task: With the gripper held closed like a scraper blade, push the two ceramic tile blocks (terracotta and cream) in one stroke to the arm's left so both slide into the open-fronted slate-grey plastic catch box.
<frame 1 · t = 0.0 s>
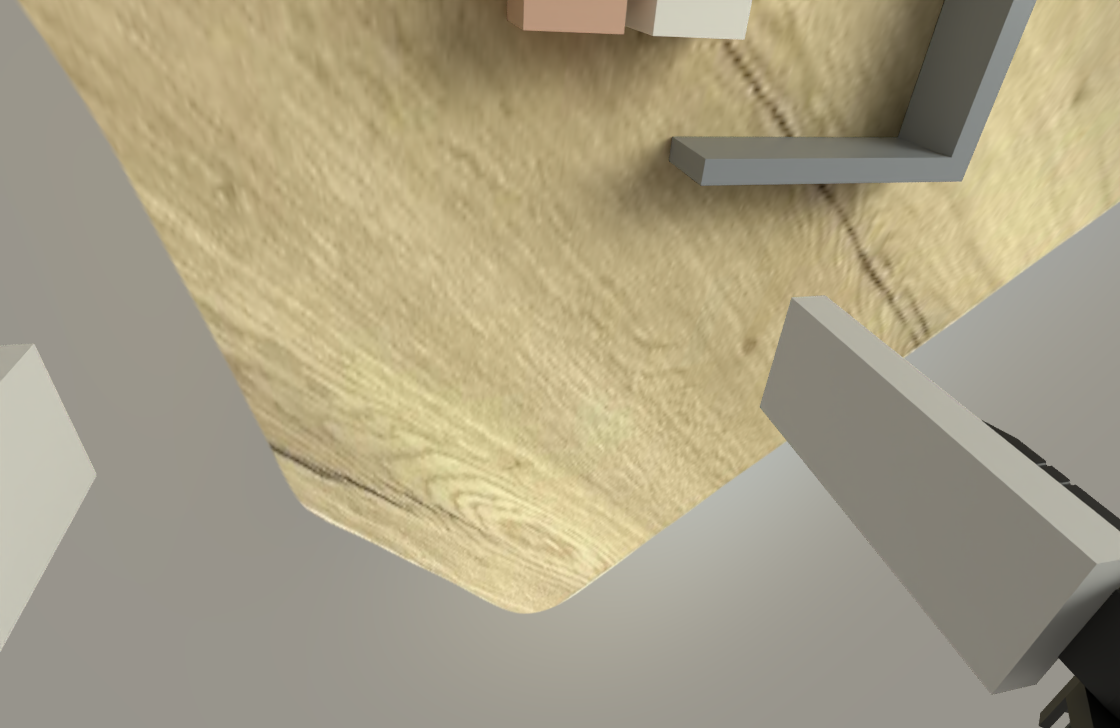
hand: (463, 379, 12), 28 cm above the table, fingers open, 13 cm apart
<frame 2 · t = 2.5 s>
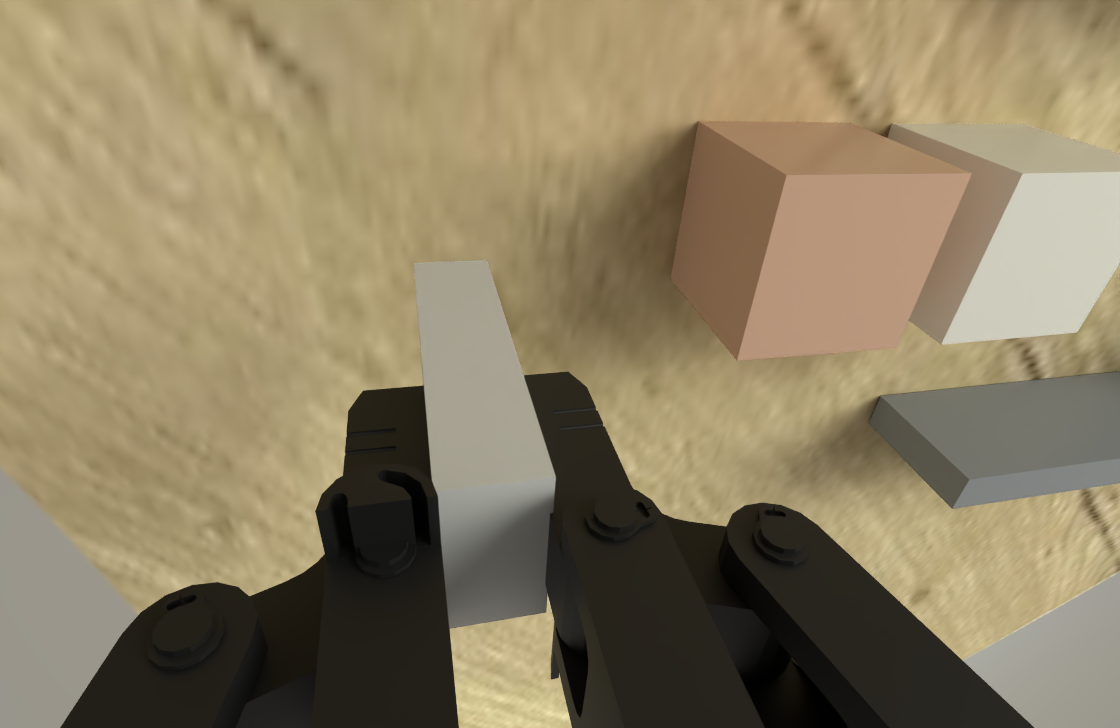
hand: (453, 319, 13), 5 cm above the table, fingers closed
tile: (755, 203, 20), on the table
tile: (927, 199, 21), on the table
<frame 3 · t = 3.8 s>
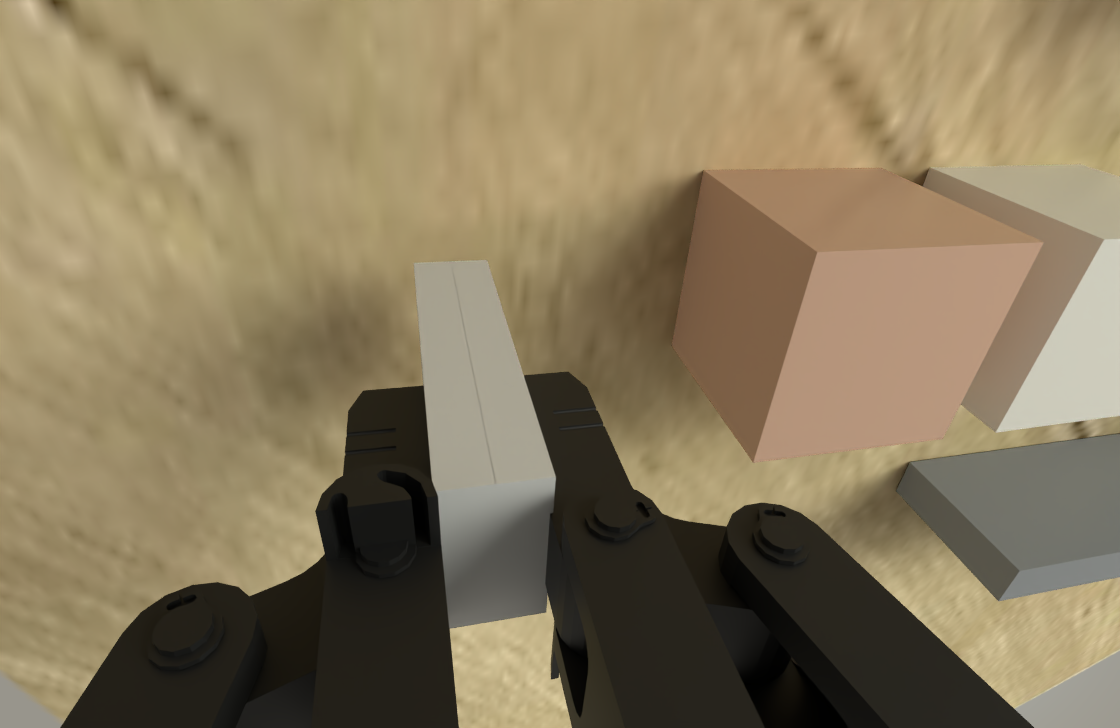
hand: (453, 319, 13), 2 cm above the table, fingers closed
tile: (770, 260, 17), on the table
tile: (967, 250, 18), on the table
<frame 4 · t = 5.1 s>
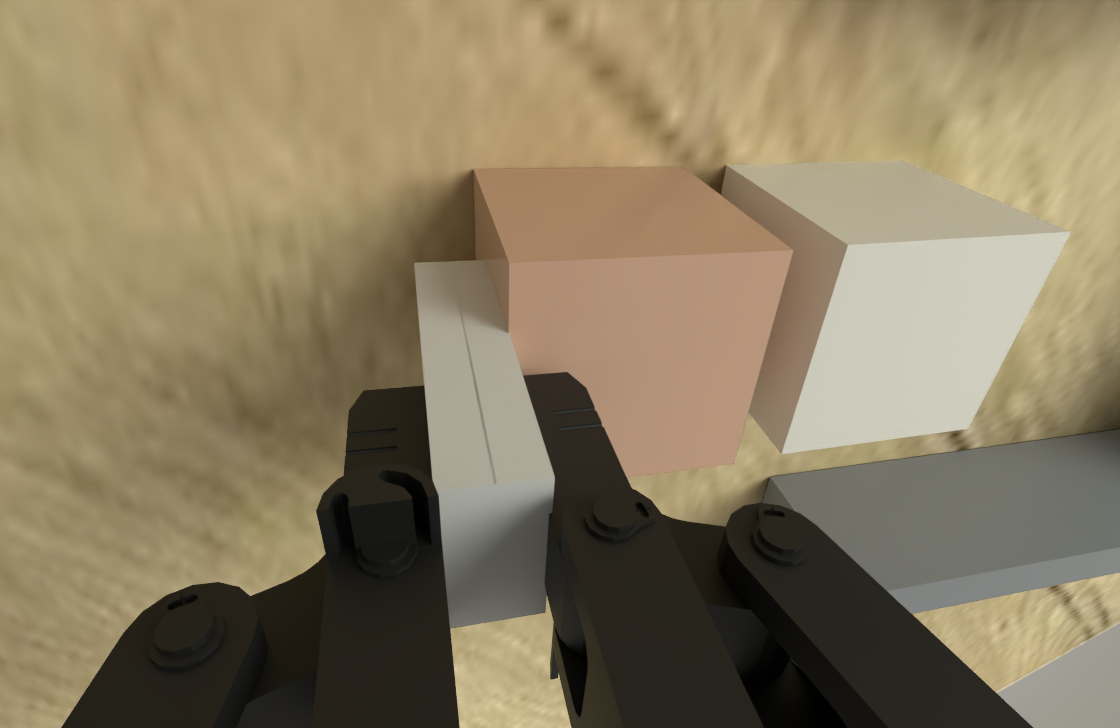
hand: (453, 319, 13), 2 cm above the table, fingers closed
catch box: (1097, 239, 19), on the table
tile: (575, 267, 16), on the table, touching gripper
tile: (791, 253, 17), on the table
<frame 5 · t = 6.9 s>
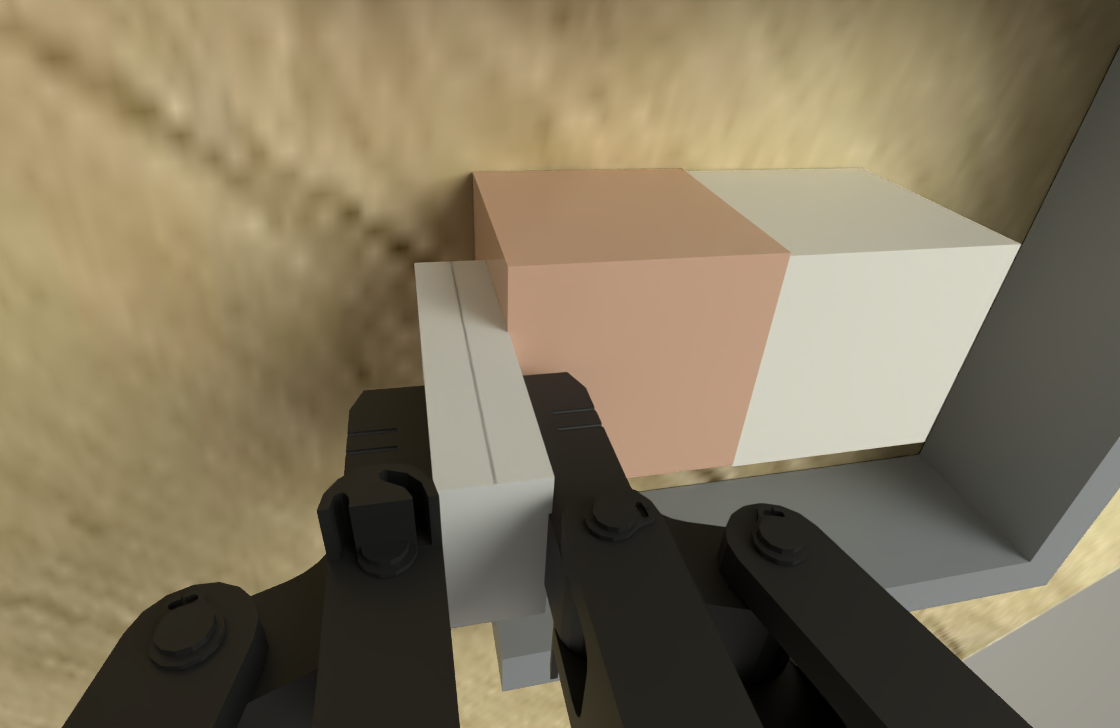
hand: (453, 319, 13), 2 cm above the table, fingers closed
catch box: (801, 252, 17), on the table
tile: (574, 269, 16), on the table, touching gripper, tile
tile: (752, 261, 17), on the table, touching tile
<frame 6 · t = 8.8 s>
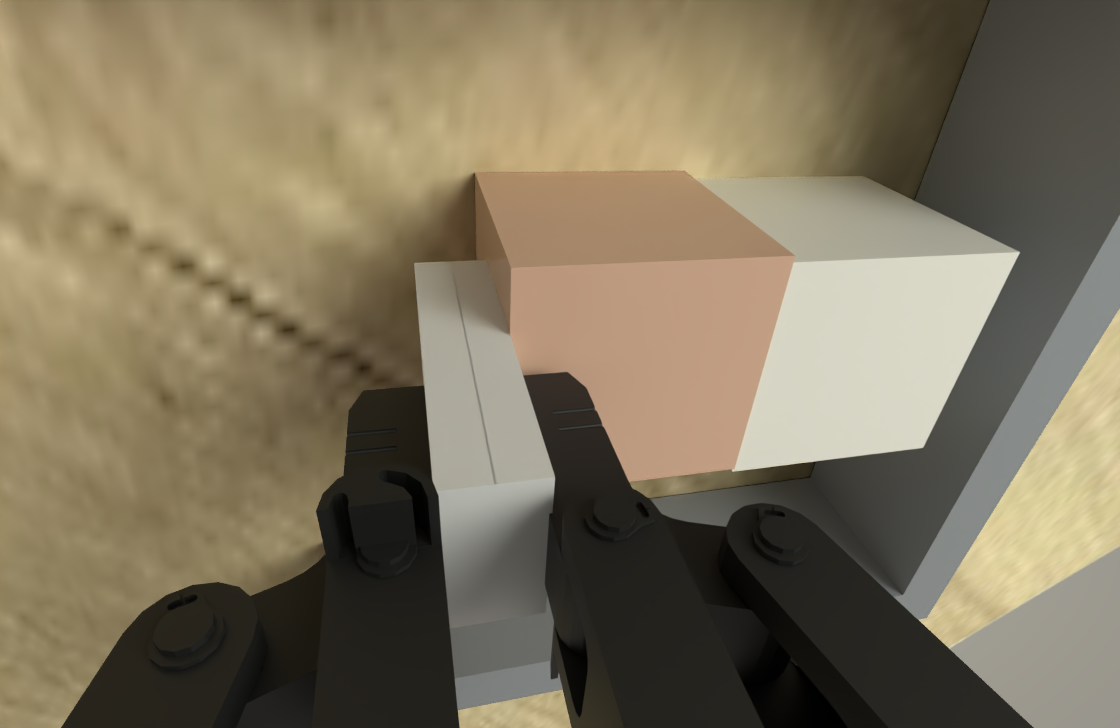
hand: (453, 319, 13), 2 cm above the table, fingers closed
catch box: (644, 270, 16), on the table
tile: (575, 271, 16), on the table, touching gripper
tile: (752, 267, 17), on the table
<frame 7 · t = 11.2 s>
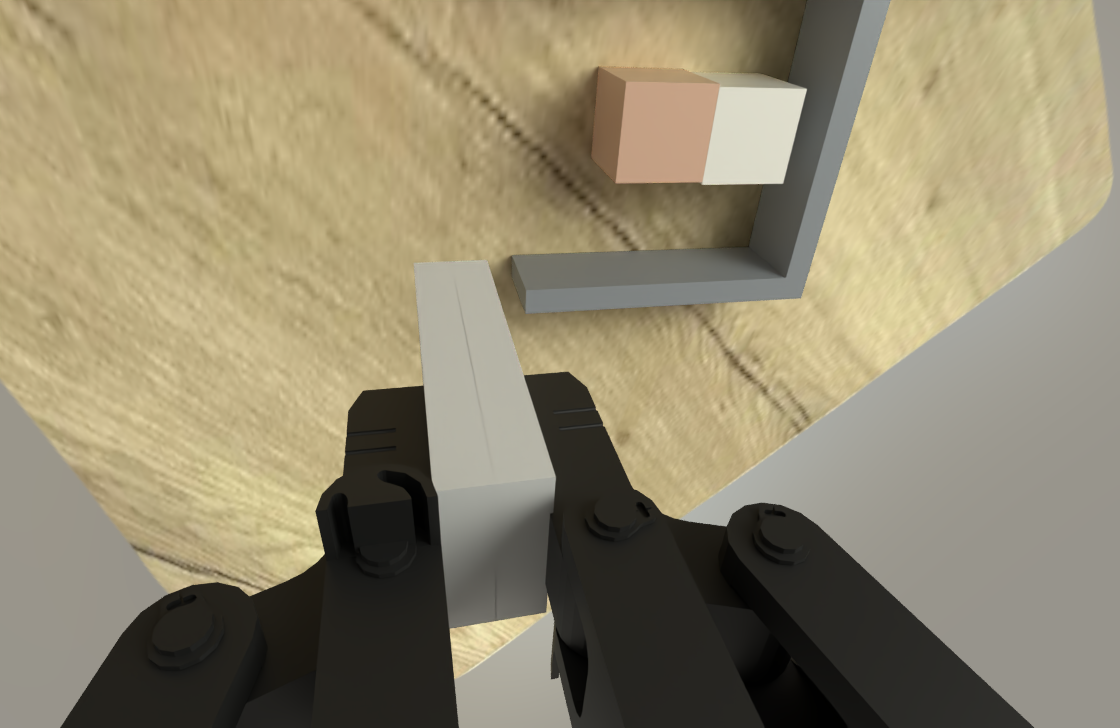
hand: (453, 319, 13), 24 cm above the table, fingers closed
catch box: (665, 115, 37), on the table
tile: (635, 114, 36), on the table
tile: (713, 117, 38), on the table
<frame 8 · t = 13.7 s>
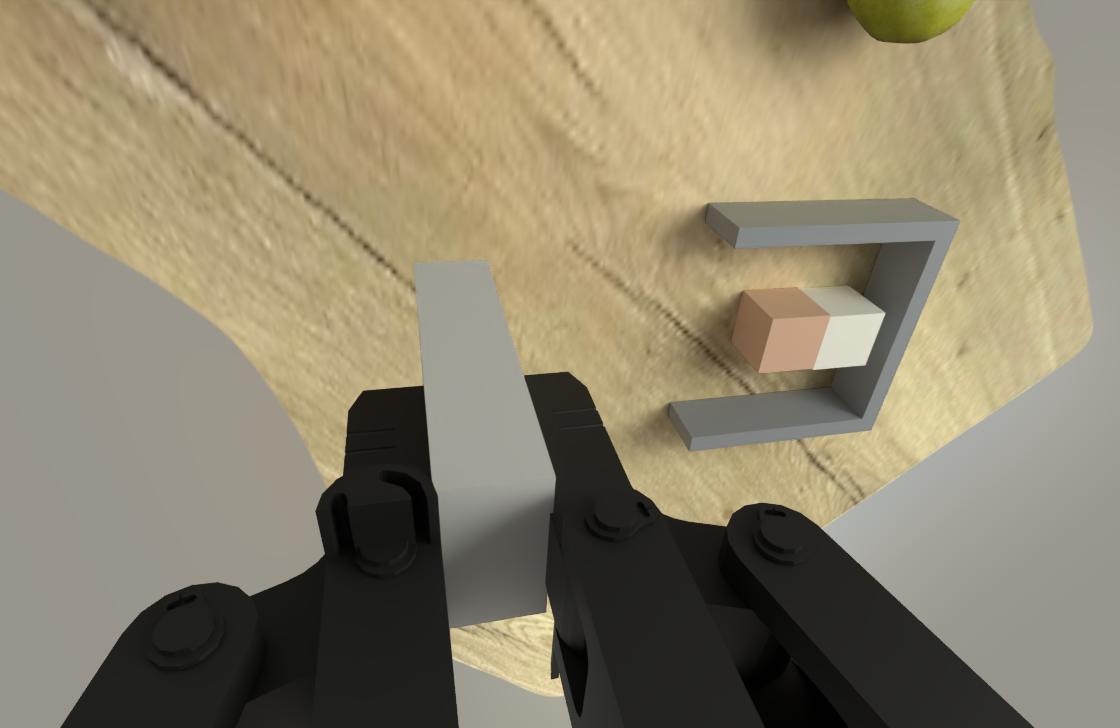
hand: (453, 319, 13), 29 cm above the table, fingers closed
catch box: (783, 314, 54), on the table
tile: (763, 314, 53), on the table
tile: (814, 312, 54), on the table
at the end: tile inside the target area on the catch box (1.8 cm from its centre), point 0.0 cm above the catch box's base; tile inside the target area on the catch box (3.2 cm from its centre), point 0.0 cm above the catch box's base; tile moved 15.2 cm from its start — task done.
